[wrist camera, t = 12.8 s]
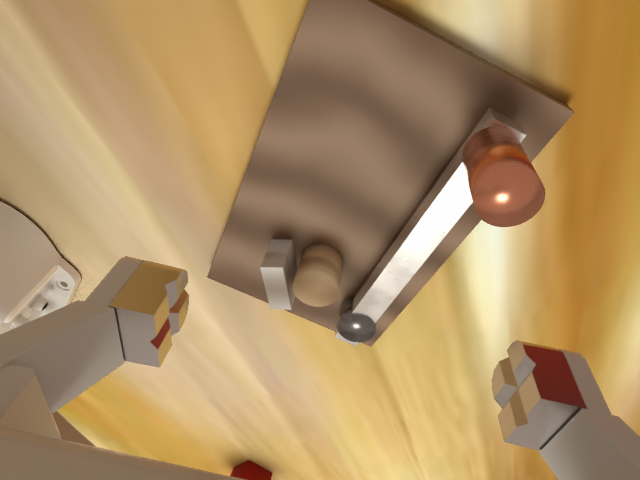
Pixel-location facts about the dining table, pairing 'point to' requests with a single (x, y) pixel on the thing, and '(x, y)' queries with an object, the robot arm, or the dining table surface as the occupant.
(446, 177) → the lever
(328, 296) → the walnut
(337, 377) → the dining table surface
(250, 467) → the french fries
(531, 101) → the nutcracker base
